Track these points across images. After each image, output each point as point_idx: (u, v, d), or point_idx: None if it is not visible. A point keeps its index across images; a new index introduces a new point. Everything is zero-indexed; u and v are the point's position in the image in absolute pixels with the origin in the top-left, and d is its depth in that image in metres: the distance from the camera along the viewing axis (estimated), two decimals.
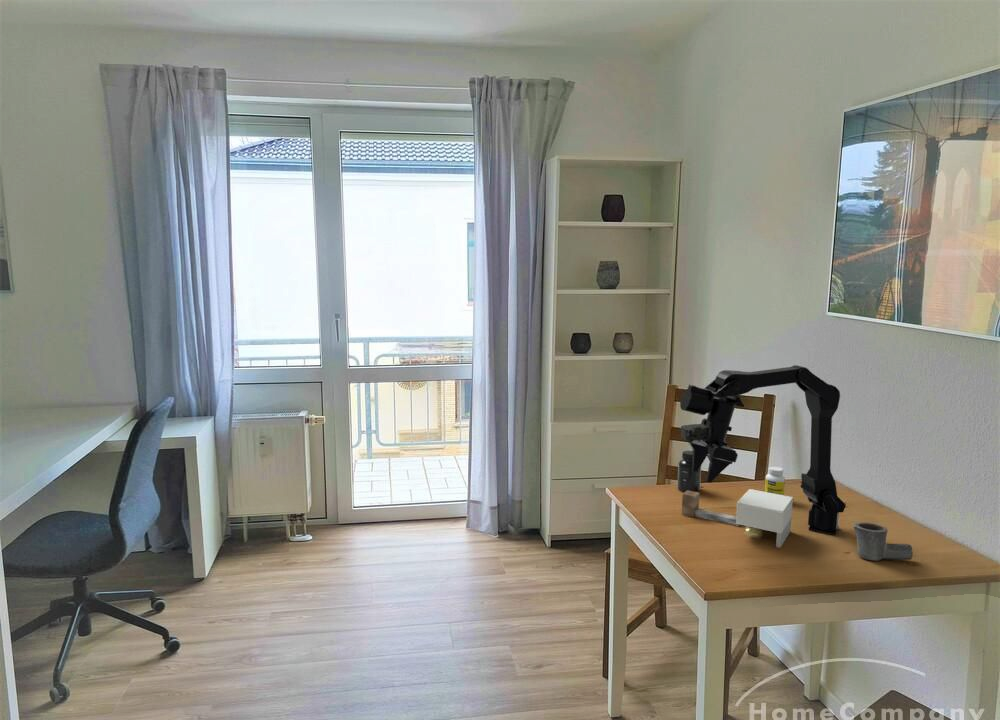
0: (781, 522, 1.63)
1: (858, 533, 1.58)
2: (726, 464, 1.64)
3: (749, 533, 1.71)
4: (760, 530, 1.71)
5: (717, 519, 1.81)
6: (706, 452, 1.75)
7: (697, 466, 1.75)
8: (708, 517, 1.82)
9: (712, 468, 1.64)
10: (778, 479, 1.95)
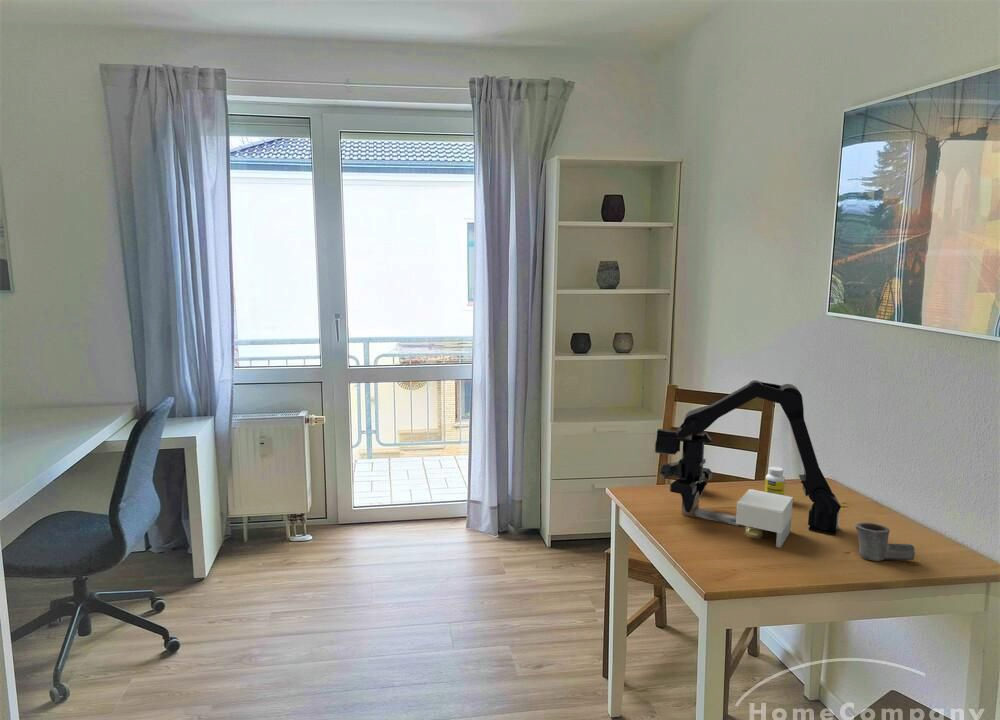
0: (781, 522, 1.63)
1: (860, 533, 1.58)
2: (693, 495, 1.81)
3: (749, 533, 1.71)
4: (760, 530, 1.71)
5: (717, 519, 1.81)
6: (700, 489, 1.87)
7: None
8: (708, 517, 1.82)
9: (684, 499, 1.83)
10: (778, 479, 1.95)
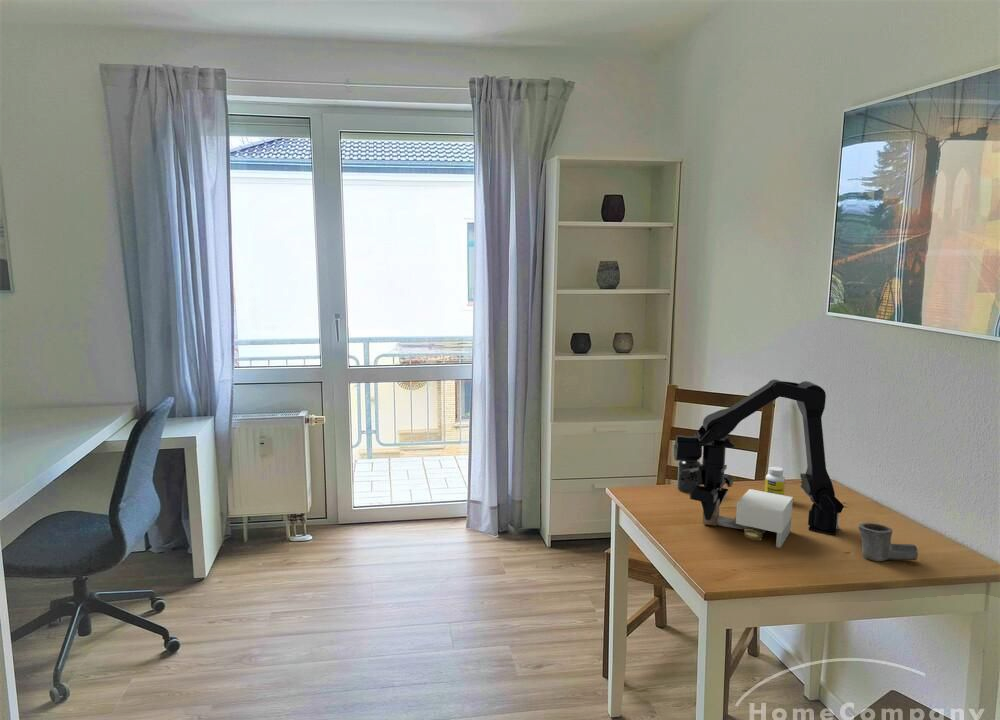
0: (781, 522, 1.63)
1: (863, 534, 1.58)
2: (714, 502, 1.74)
3: (749, 534, 1.69)
4: (760, 531, 1.70)
5: (741, 527, 1.74)
6: (721, 496, 1.79)
7: None
8: (731, 525, 1.75)
9: (704, 506, 1.76)
10: (778, 479, 1.95)
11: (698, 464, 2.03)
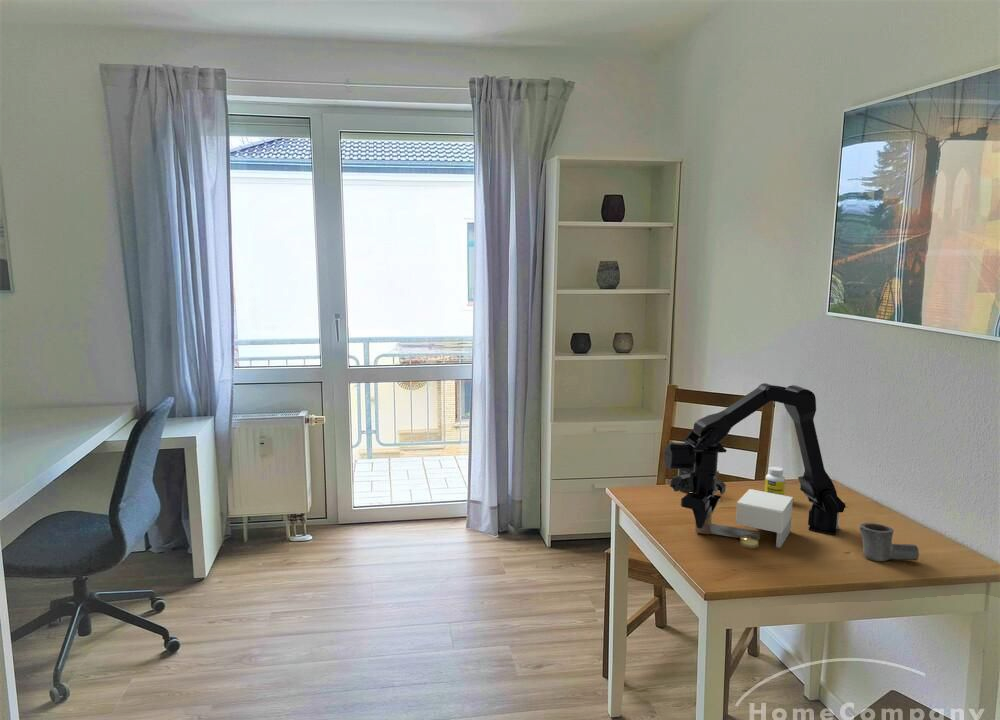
0: (781, 522, 1.63)
1: (864, 534, 1.58)
2: (706, 510, 1.68)
3: (746, 543, 1.64)
4: (756, 539, 1.65)
5: (735, 535, 1.69)
6: (713, 503, 1.74)
7: None
8: (725, 533, 1.70)
9: (695, 514, 1.70)
10: (778, 479, 1.95)
11: None
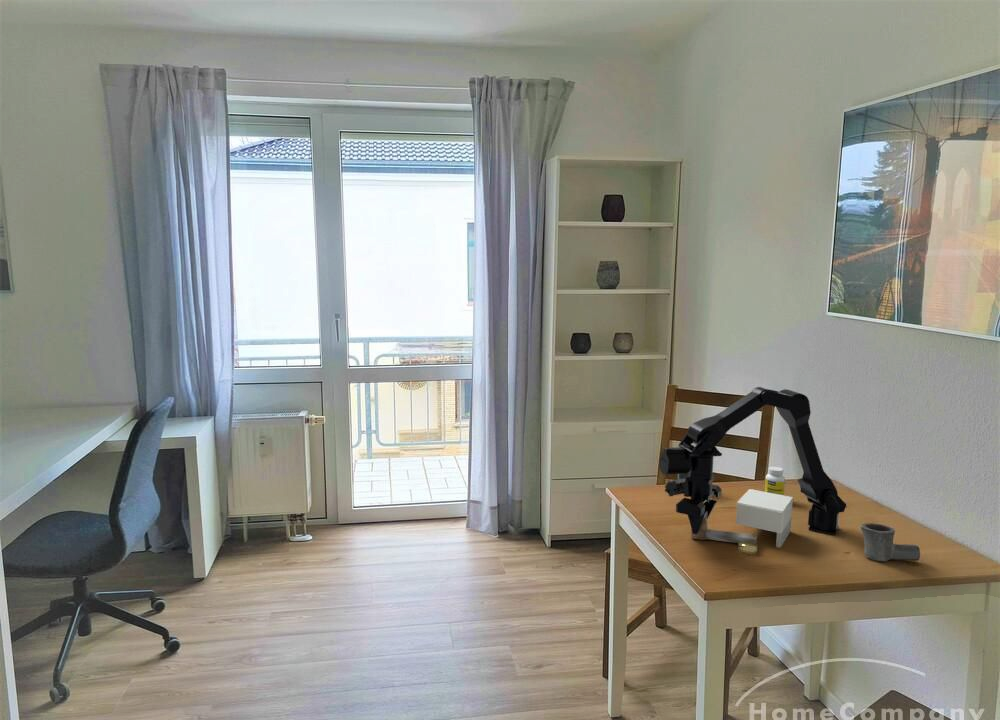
0: (781, 522, 1.63)
1: (865, 534, 1.58)
2: (701, 516, 1.64)
3: (744, 549, 1.61)
4: (755, 545, 1.62)
5: (731, 540, 1.66)
6: (709, 508, 1.70)
7: None
8: (721, 538, 1.67)
9: (691, 520, 1.67)
10: (778, 479, 1.95)
11: None
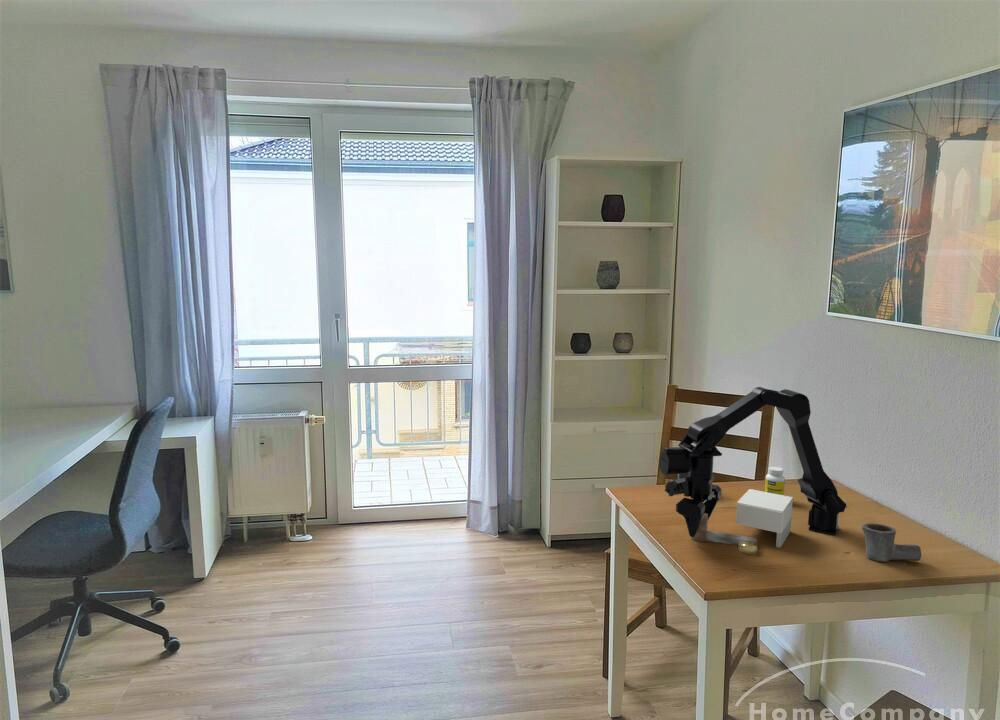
0: (781, 522, 1.63)
1: (866, 534, 1.58)
2: (699, 518, 1.63)
3: (744, 549, 1.61)
4: (755, 545, 1.62)
5: (731, 542, 1.66)
6: (711, 506, 1.72)
7: None
8: (721, 540, 1.67)
9: (688, 522, 1.65)
10: (778, 479, 1.95)
11: None
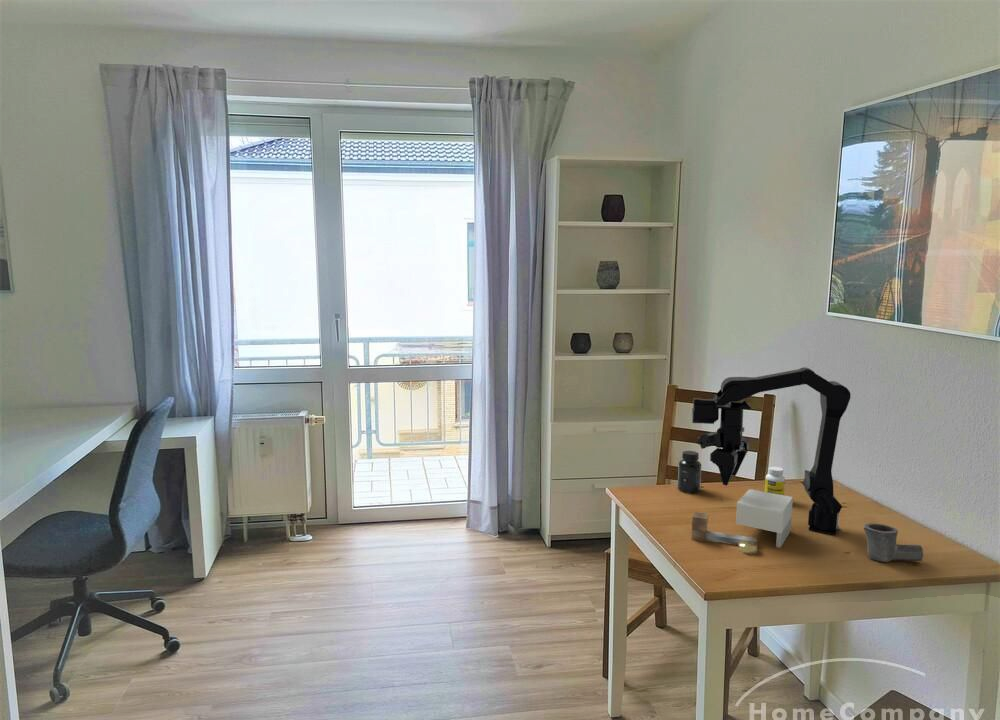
0: (781, 522, 1.63)
1: (868, 534, 1.57)
2: (732, 466, 1.73)
3: (744, 549, 1.61)
4: (755, 545, 1.62)
5: (731, 542, 1.66)
6: (741, 457, 1.82)
7: (734, 471, 1.83)
8: (721, 540, 1.67)
9: (721, 471, 1.75)
10: (778, 479, 1.95)
11: (698, 464, 2.03)
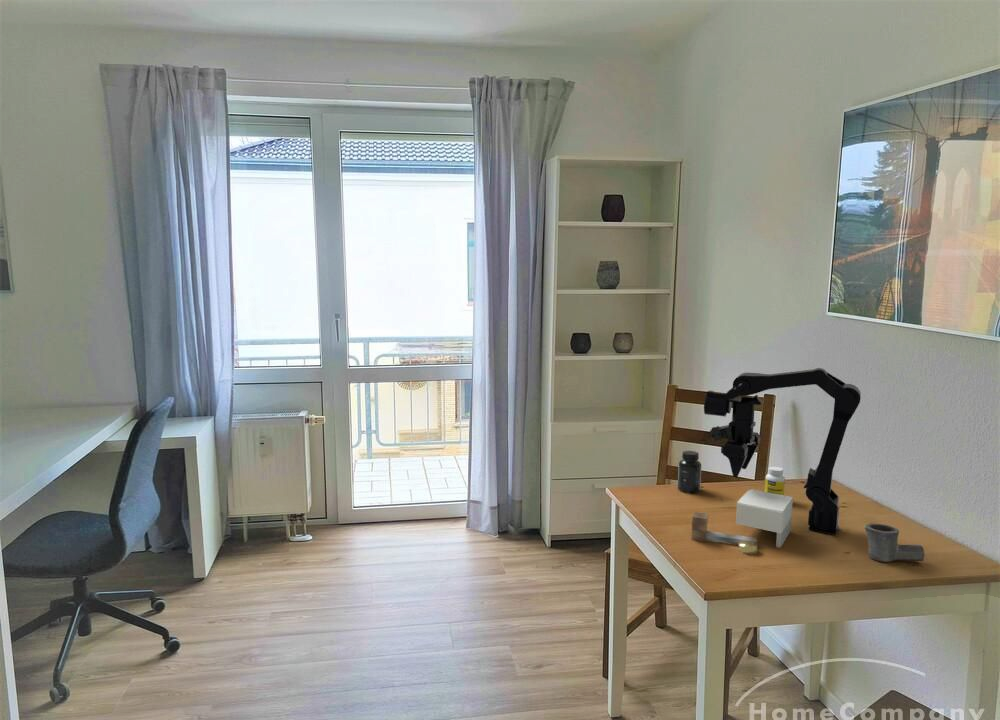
0: (781, 522, 1.63)
1: (869, 534, 1.57)
2: (742, 459, 1.78)
3: (744, 549, 1.61)
4: (755, 545, 1.62)
5: (731, 542, 1.66)
6: (752, 450, 1.87)
7: (745, 464, 1.89)
8: (721, 540, 1.67)
9: (732, 464, 1.80)
10: (778, 479, 1.95)
11: (698, 464, 2.03)
